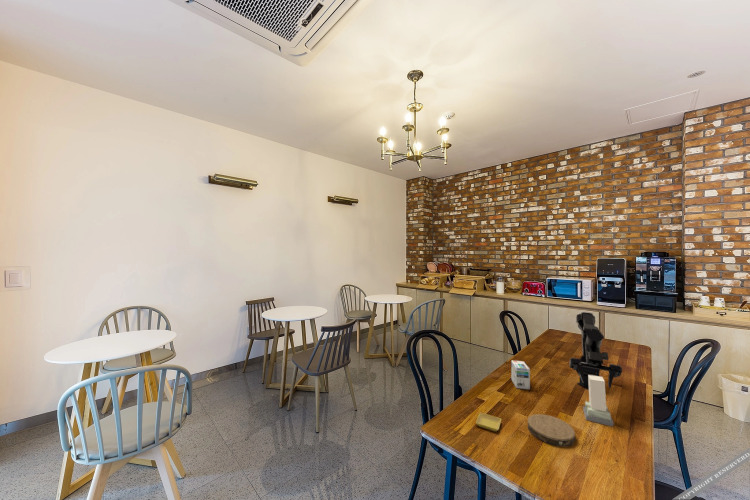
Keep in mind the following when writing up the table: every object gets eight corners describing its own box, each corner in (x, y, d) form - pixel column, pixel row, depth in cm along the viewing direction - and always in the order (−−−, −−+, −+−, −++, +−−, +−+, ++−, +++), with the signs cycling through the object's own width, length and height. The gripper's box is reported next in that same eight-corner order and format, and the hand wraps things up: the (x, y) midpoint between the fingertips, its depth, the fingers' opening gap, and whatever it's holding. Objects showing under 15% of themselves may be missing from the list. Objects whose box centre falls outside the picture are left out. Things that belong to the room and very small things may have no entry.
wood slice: (520, 420, 121) (520, 413, 121) (558, 421, 121) (558, 414, 121) (540, 446, 105) (541, 438, 105) (585, 448, 105) (585, 439, 105)
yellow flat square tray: (498, 435, 112) (498, 429, 112) (475, 427, 117) (475, 422, 117) (501, 423, 119) (501, 418, 119) (480, 417, 124) (480, 412, 124)
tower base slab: (583, 411, 130) (583, 405, 130) (608, 417, 125) (608, 411, 125) (586, 421, 122) (586, 415, 122) (613, 428, 117) (613, 422, 117)
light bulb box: (530, 389, 148) (530, 368, 148) (516, 388, 149) (516, 367, 149) (523, 380, 158) (524, 360, 158) (510, 379, 159) (510, 359, 159)
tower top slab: (585, 406, 129) (585, 401, 129) (606, 411, 125) (606, 405, 125) (588, 415, 122) (588, 409, 122) (610, 420, 119) (610, 414, 119)
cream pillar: (589, 403, 127) (588, 374, 127) (603, 405, 125) (602, 376, 125) (591, 408, 123) (589, 379, 123) (606, 411, 120) (604, 381, 120)
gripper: (570, 340, 136) (572, 372, 127) (621, 347, 127) (627, 382, 117) (568, 351, 143) (570, 383, 133) (617, 359, 134) (622, 393, 124)
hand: (596, 385), depth 127 cm, fingers open, 9 cm apart
